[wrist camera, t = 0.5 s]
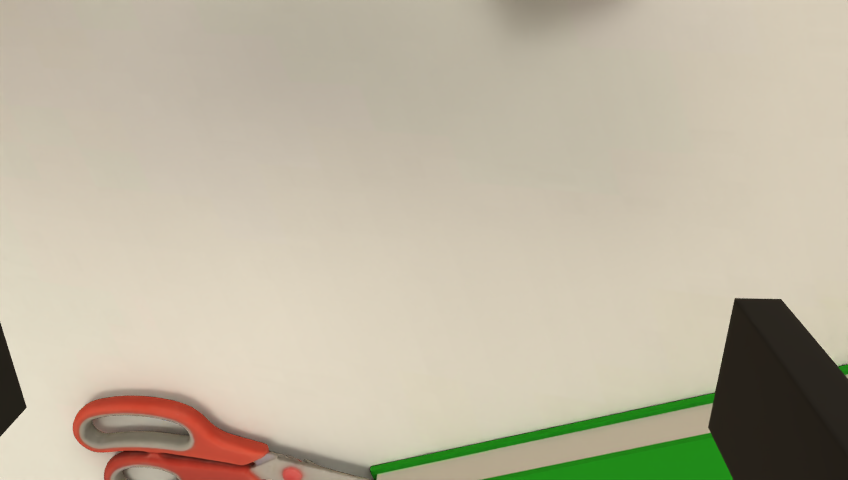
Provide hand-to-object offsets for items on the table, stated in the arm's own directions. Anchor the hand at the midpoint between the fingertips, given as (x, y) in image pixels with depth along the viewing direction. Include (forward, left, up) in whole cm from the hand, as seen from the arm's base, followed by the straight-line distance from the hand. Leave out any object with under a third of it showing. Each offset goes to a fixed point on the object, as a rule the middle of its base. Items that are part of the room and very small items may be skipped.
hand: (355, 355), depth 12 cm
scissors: (+19, -8, -19) cm, 28 cm away
